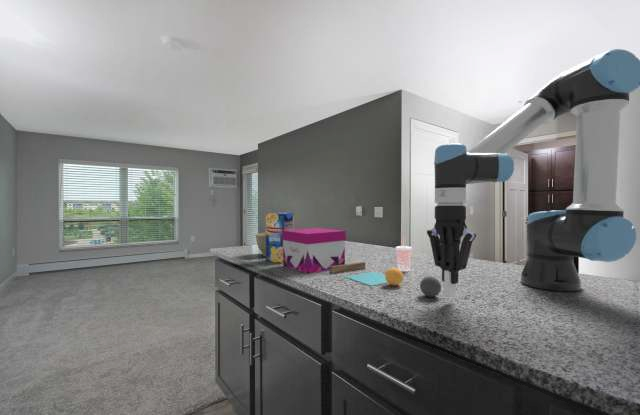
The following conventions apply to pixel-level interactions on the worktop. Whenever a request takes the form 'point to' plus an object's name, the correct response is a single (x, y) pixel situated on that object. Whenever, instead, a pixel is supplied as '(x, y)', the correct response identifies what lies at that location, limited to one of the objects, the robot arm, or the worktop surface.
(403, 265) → the beverage cup
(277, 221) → the beverage box
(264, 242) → the planter bowl
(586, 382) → the worktop surface
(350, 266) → the wall
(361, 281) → the teal mark
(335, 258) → the decorative box
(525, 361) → the worktop surface
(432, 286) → the gray ball
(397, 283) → the orange ball
